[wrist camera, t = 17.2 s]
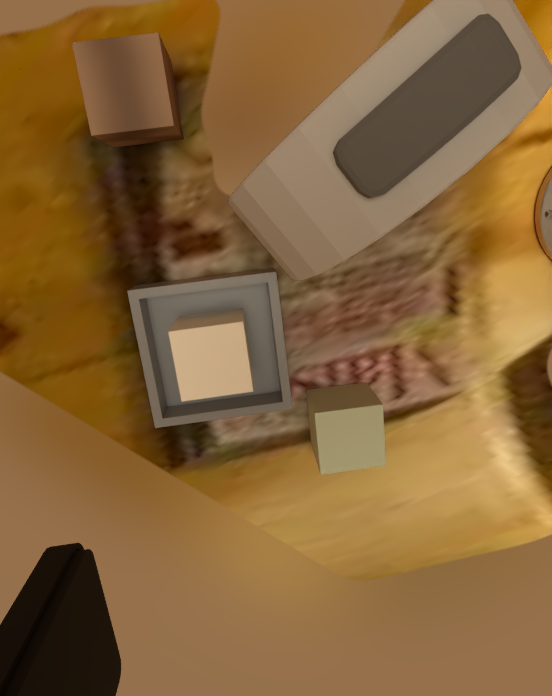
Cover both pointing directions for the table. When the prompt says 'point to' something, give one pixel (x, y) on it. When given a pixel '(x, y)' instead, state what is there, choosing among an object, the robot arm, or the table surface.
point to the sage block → (346, 428)
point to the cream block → (211, 354)
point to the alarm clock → (394, 133)
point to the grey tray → (206, 297)
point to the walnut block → (128, 90)
